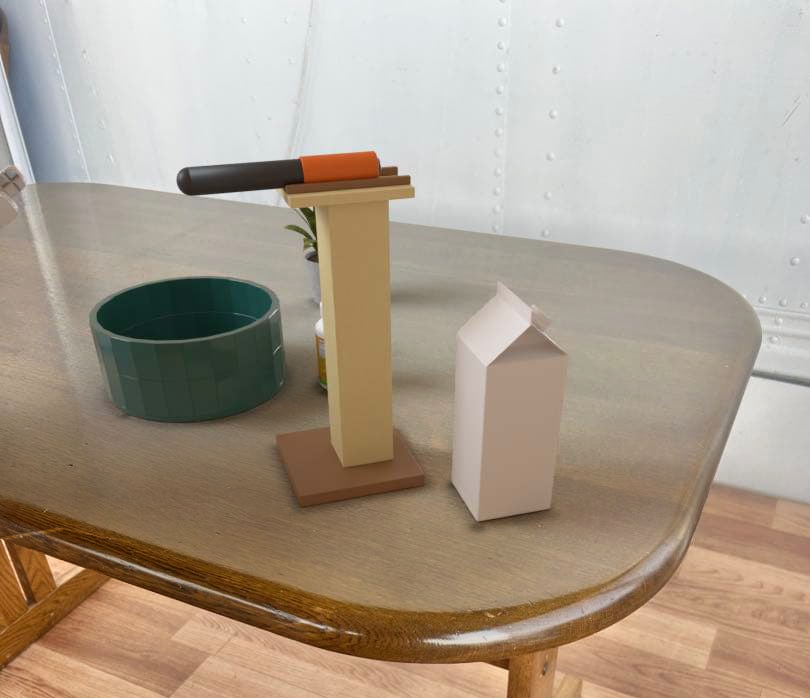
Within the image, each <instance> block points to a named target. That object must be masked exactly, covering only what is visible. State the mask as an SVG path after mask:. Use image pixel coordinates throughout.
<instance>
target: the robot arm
mask: <svg viewBox="0 0 810 698" xmlns="http://www.w3.org/2000/svg"><path fill="white" fill-rule="evenodd" d="M26 185H27V178H26V176H25V175H24V174H23V173H22V172H21V171H20V169H19V168H18V167H17V166H15V165H13V164H8V165H7V166H6V167H4V168H3V169H1V170H0V231H2V229H3V228H5V227H6V226H7V225H9V224H10V223H11V222H13V221H14V220H15V219H17V216H18V214H19V206H18V204H17V203H16V202H15V201H14V200H13V199H12V198H13V197H15V196H16V195H17V194H19V193H20V192H21V191H23V190H24V189H25V187H26Z"/></svg>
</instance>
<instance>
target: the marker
mask: <svg viewBox="0 0 810 698" xmlns="http://www.w3.org/2000/svg"><path fill="white" fill-rule="evenodd" d="M382 167H383V166H382V162H381V160H380V158H379V157H378V155H377V153H376V151H375V150H369V151H368V150H367V151H354V152H342V153H328V154H315V155H304V156H303V155H301V156H298V158H289V159H275V160H264V161H249V162H248V161H247V162H238V163H237V162H236V163H223V164H210V165H198V166H197V165H196V166H186V167H183V168H181V169H180V170H179V171H178V173H177V175H176V180H175V181H176V186H177V188H178V189H179V191H180V193H182V194H183V195H184V196H185V195H186V196H189V197H198V196H209V195H219V194H221V195H222V194H233V193H245V192H256V191H268V190H276V189H282V188H286V187H285V186H286V185H291V184H304V183H316V182H328V181H341V180H353V179H366V178H378V177H379V175H380V173H381V170H382Z"/></svg>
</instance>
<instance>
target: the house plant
mask: <svg viewBox="0 0 810 698" xmlns="http://www.w3.org/2000/svg"><path fill="white" fill-rule="evenodd" d="M298 209H299V211H300V212H301V213H302V215H303V216H304V217H305V218H304V217H303V216H302V215H301V214H300V212H299V211H298V210H297V208H294V209H293V211H295V212H296V213H297V214H298V215H299V217H301V219H302V220H303V221H304V222H305V223H306V225H307V226H308V227H309V229H310V231H311V233H312V235H313V236H314V238H315V239H314V238H313V237H312V235H311V234H310V233H308V232H307V230H305V229H304V228H302V227H300V226H298V225H296V224H286V225H285V226H283V229H284V230H285V229H286V230H289V231H292V232H296V233H298V234H300V235H303V236H304V237H303V239H302V240H303V250H302V253H304V252H305V251H306V250H307V249H310V248H311V247H313V250H311V251H308V252H306V253H304V255H303V261H304V265H305V266H304V267H305V269H306V273H307V278H308V281H309V282H308V283H309V286H310V289H311V293H312V299H313V301H314V303H315V304H317V305H319V306H320V302H321V286H320V271H319V257H318V242H317V228H316V213H315V207H312V208H311V207H305V208H298Z"/></svg>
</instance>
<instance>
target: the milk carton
mask: <svg viewBox="0 0 810 698" xmlns="http://www.w3.org/2000/svg"><path fill="white" fill-rule="evenodd" d="M553 322H554V321H553V320H552V318H551V317H549V315H547V314H545V312H543V311H542V310H541V309H540V308H538V306H536V305H535V304H531V305H530V306H529V305H528V304H527V303H525V302H524V301H523V300H522V299H521V298H520V297H519V296H517V295H516V294H515V293H514V292H513V291H512V290H510V288H509V287H507V286H506V285H505V284H504V283H503V282H501V281H497V282H496V293H495V295H494V296H492V298H491V299H489V300H488V301H487V302H486V303H485V304H484V306H482V307H481V308H480V309H479V310H478V311H477V312H476V313H475V314H474V315H473V316H472V317H471V318H470V319H469V320H467V322H466V323H464V325H462V327H460V328H459V330H457V332H456V341H455V342H456V343H455V344H456V345H455V370H454V372H455V373H454V374H455V375H454V399H453V400H454V403H453V428H452V429H453V431H452V456H451V457H452V458H451V459H452V461H451V463H452V464H451V484H452V485H453V487H454V488H455V489H456V491H457V493H458V494H459V496H460V497H461V499H462V501H463V502H464V503H465V505H466V507H467V508H468V511H469V512H470V513H471V515H472V517H473V518H474V519H475V521H476V522H482V521H489V520H494V519H500V518H501V519H502V518H507V517H511V516H518V515H523V514H528V513H533V512H539V511H545V510H550V509H551V504H552V495H553V489H554V479H555V471H556V464H557V456H558V447H559V440H560V439H559V438H560V429H561V423H562V415H563V407H564V406H563V405H564V400H565V399H564V398H565V392H566V391H565V389H566V382H567V374H568V364H569V363H568V362H569V354H568V353H567V352H566V351H565V350H564V349H563V348H561V347H560V346H559V345H558V344H557V343H556V342H555V341H554V340H553V339H551V338H550V337H549V336H548V335H547V334H546V333H545V332H546V331H547V330H548V328H549V327H550V326H551V325H552V323H553Z"/></svg>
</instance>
